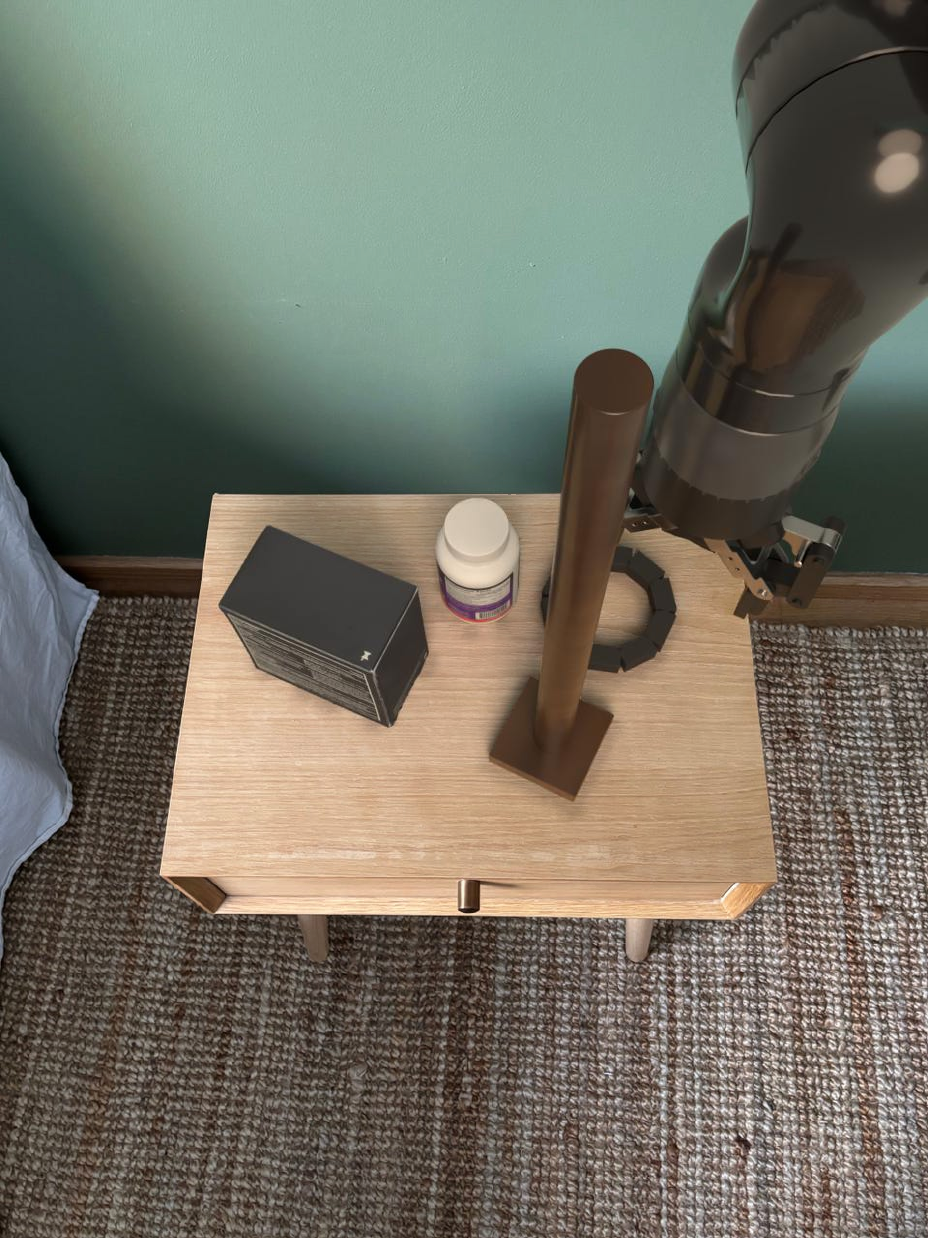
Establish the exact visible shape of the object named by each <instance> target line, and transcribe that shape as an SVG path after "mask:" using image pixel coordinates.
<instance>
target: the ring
mask: <svg viewBox="0 0 928 1238" xmlns="http://www.w3.org/2000/svg"><path fill="white" fill-rule="evenodd" d="M633 551H634V548H633V547H631V546H623V545H617V547H616V550H615V554H614V559H613V563H612V567H611V571H610V572H612V573H619V574H626V575H627V576H628V577H629V578H631V579H632V581H634V582H635V583H636V584H637V585H638V586H640V587H641V588H642V589H643V590H644V591H646V593H647V598H648V601H649V605H650V610H651V614H652V617H651V619H650V621H649V623H648V626H647V628H646V630H645V632H644V634H642V635H639V636H638V637H636V638H633V639H632V640H630V641H628V642H626V643H624V644H622V645H620V646H613V645H606V644H600V643H593V647H592V651H591V656H590V660H589V664H588V668H587V670H589V671H598V672H605V673H612V674H619V671H620V668H621V669H622V671H623V672H624V673H626V672H629V671H630V670H632V669H634V668H636V667H638V666H640V665H642V664H644V663H646V662H648V661H650V660H652V659H654V658H656V655H657V653H661V651H662V650H663V647H664V644H665V643H666V640H667V638H668V636H669V634H670V632H671V629H672V627H673V625H674V623H675V621H676V619H677V615H676V613H677V610H678V607H677V603H676V600H675V594H674V592H673V588H672V583H671V580H670V577H664V576H665V575H666V571H665V570H664V569H663V568H661V567H660V566H659V565H658V564H656V563H655V562H654V561H653V560H652V559H650V558H649V557H648V556H647V555H645V553H643V552H642V551H640V550H637V551H636V552H635V553H634V554H633ZM551 574H552V572H551V573H550V574H549V577H548V579H547V580H546V583H545V585H544V586H543V588H542V590H541V598H540V610H541V615H542V620H543V626H544V628H545V627H546V618H547V610H548V601H549V592H550V583H551Z"/></svg>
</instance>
